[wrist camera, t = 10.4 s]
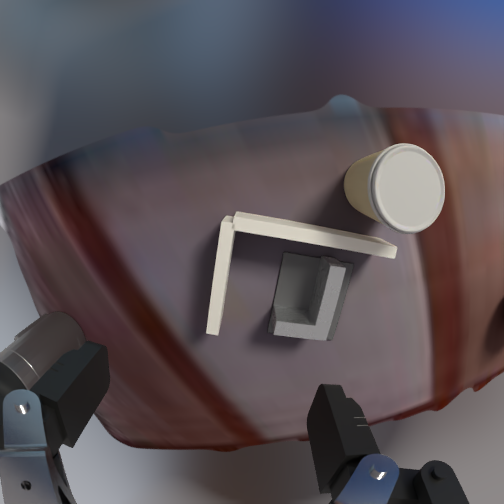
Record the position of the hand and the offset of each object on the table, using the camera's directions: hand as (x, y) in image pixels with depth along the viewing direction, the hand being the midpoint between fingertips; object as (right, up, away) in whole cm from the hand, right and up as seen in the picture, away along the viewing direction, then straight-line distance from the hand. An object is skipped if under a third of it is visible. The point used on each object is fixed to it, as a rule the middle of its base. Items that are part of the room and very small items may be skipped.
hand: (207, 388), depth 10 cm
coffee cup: (+17, +14, +28) cm, 36 cm away
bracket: (+9, 0, +31) cm, 32 cm away
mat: (+10, -2, +31) cm, 33 cm away
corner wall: (+8, +2, +30) cm, 32 cm away
